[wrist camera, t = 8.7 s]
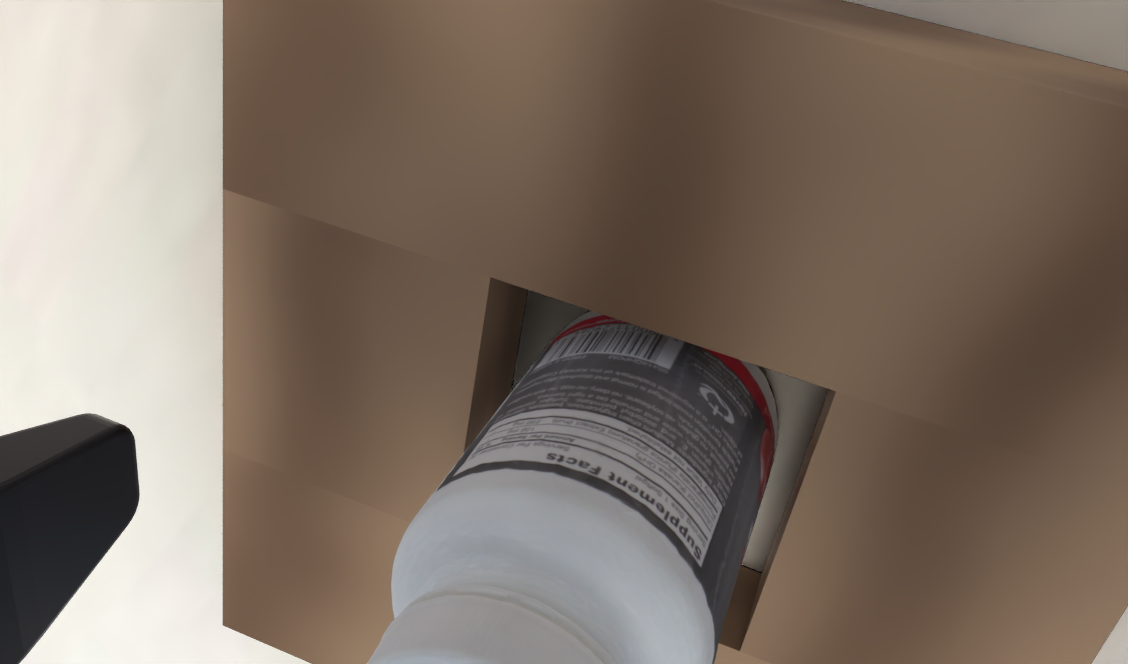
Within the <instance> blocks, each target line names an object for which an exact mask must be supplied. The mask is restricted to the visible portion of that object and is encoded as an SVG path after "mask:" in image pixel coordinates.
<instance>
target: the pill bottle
mask: <svg viewBox="0 0 1128 664" xmlns="http://www.w3.org/2000/svg"><path fill="white" fill-rule="evenodd" d="M777 439H778V419H777V411H776V405H775V401H774V397H773V394H772V392H771V389H770V387H769V384H768V381H767V380H766V378H765V376H764V374H763V373H762V372H761V370H760V369H759V367H758V366H757V365H754V364H751V363H748V362H745V361H742V360H739V359H736V358H733V357H730V356H727V355H724V354H721V353H718V352H715V351H712V350H709V349H706V348H703V347H700V346H697V345H694V344H691V343H688V342H685V341H682V340H679V339H676V338H673V337H670V336H667V335H664V334H661V333H658V332H655V331H652V330H649V329H645V328H642V327H639V326H636V325H633V324H630V323H627V322H624V321H621V320H618V319H615V318H612V317H609V316H606V315H603V314H600V313H597V312H594V311H589V312H587V313H585V314H583V315H581V316H580V317H578V318H577V319H575V320H574V321H572V322H571V323H569V324H568V325H567V326H565V327H564V328H563V329H562V330H561V331H560V332H559V333H558V334H557V335H556V336H555V337H554V338H553V339H552V341H551V342H550V343H549V344H548V345H547V346H546V347H545V349H544V350H543V351H542V353H541V354H540V355H539V357H538V358H537V359H536V361H535V362H534V363H533V365H532V366H531V367H530V369H529V370H528V371H527V373H526V374H525V375H524V376H523V378H522V379H521V380H520V382H519V383H518V384H517V385H516V387H515V388H514V389H513V391H512V392H511V393H510V394H509V396H508V397H507V398H506V399H505V401H504V402H503V403H502V404H501V406H500V407H499V408H498V410H497V411H496V413H495V414H494V415H493V417H492V418H491V419H490V421H489V422H488V423H487V425H486V426H485V427H484V428H483V430H482V431H481V432H480V433H479V435H478V436H477V437H476V439H475V440H474V441H473V442H472V443H471V445H470V446H469V447H468V448H467V449H466V451H465V452H464V453H463V455H462V456H461V457H460V459H459V460H458V462H457V463H456V464H455V465H454V467H453V468H452V469H451V471H450V472H449V473H448V475H447V476H446V477H445V479H444V480H443V481H442V482H441V484H440V485H439V486H438V487H437V489H436V490H435V491H434V493H433V494H432V495H431V496H430V498H429V499H428V500H427V502H426V503H425V504H424V505H423V507H422V508H421V509H420V511H419V512H418V513H417V515H416V516H415V517H414V519H413V520H412V522H411V523H410V525H409V526H408V528H407V529H406V531H405V533H404V535H403V537H402V540H401V542H400V544H399V547H398V549H397V552H396V555H395V559H394V563H393V570H392V580H391V592H392V607H393V613H394V618H395V619H394V620H393V621H392V622H391V623H390V625H389V626H388V628H387V630H386V631H385V633H384V634H383V636H382V638H381V641H380V643H379V645H378V647H377V648H376V650H375V651H374V653H373V655H372V656H371V658H370V659H369V661H368V662H367V664H714V662H715V658H716V653H717V648H718V643H719V639H720V636H721V632H722V628H723V624H724V621H725V617H726V614H727V610H728V607H729V604H730V600H731V597H732V593H733V590H734V587H735V583H736V580H737V576H738V573H739V570H740V566H741V564H742V561H743V558H744V555H745V552H746V549H747V545H748V542H749V539H750V536H751V532H752V529H753V526H754V523H755V520H756V517H757V513H758V510H759V507H760V504H761V501H762V498H763V495H764V491H765V488H766V485H767V482H768V478H769V474H770V471H771V467H772V464H773V461H774V456H775V451H776V446H777Z"/></svg>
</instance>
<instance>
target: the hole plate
mask: <svg viewBox="0 0 1128 664" xmlns="http://www.w3.org/2000/svg"><path fill="white" fill-rule="evenodd" d="M528 290H530V291H533V292H537V293H540V294H543V295H546V296H549V297H552V298H555V299H558V300H561V301H564V302H567V303H570V304H573V305H576V306H579V307H582V308H585V309H588V310H591V311H594V312H597V313H600V314H603V315H606V316H609V317H612V318H615V319H618V320H621V321H624V322H627V323H630V324H633V325H636V326H639V327H642V328H645V329H649V330H652V331H655V332H658V333H661V334H664V335H667V336H670V337H673V338H676V339H679V340H682V341H685V342H688V343H691V344H694V345H697V346H700V347H703V348H706V349H709V350H712V351H715V352H718V353H721V354H724V355H727V356H730V357H733V358H736V359H739V360H742V361H745V362H748V363H751V364H754V365H757V366H761V367H764V368H767V369H770V370H773V371H776V372H779V373H782V374H785V375H788V376H791V377H794V378H797V379H800V380H803V381H806V382H809V383H812V384H815V385H818V386H821V387H824V388H827V389H829V391H828V394H827V397H826V400H825V402H824V405H823V408H822V410H821V413H820V416H819V419H818V421H817V424H816V427H815V430H814V432H813V435H812V438H811V440H810V443H809V446H808V449H807V451H806V454H805V457H804V460H803V462H802V465H801V468H800V470H799V473H798V476H797V479H796V481H795V484H794V487H793V490H792V492H791V495H790V498H789V500H788V503H787V506H786V509H785V511H784V514H783V517H782V520H781V522H780V525H779V528H778V530H777V533H776V536H775V539H774V541H773V544H772V547H771V550H770V552H769V555H768V558H767V561H766V563H765V566H764V569H763V571H762V573H759V572H756V571H754V570H751V569H748V568H746V567H743V566H740V570H739V573H738V576H737V580H736V583H735V587H734V590H733V593H732V597H731V600H730V604H729V607H728V610H727V614H726V617H725V621H724V624H723V628H722V632H721V636H720V639H719V643H718V648H717V653H716V658H715V662H714V664H1091V663H1092V662H1093V660H1094V659H1095V657H1096V655H1097V654H1098V652H1099V651H1100V649H1101V647H1102V646H1103V644H1104V643H1105V641H1106V640H1107V638H1108V636H1109V635H1110V633H1111V632H1112V630H1113V628H1114V627H1115V625H1116V624H1117V622H1118V620H1119V619H1120V617H1121V616H1122V614H1123V613H1124V611H1125V609H1126V608H1127V606H1128V72H1126V71H1122V70H1118V69H1114V68H1110V67H1106V66H1102V65H1098V64H1094V63H1090V62H1086V61H1082V60H1078V59H1074V58H1070V57H1066V56H1062V55H1058V54H1054V53H1050V52H1046V51H1042V50H1038V49H1034V48H1030V47H1026V46H1022V45H1018V44H1014V43H1010V42H1006V41H1002V40H998V39H994V38H990V37H986V36H982V35H978V34H974V33H970V32H966V31H962V30H958V29H954V28H950V27H946V26H942V25H938V24H934V23H930V22H926V21H922V20H918V19H914V18H910V17H906V16H902V15H898V14H894V13H890V12H886V11H882V10H878V9H874V8H870V7H866V6H862V5H858V4H854V3H850V2H846V1H842V0H223V625H224V626H226V627H228V628H231V629H233V630H235V631H238V632H240V633H242V634H244V635H247V636H249V637H251V638H254V639H256V640H258V641H261V642H263V643H265V644H268V645H270V646H272V647H275V648H277V649H279V650H281V651H284V652H286V653H288V654H291V655H293V656H295V657H298V658H300V659H302V660H305V661H307V662H309V663H312V664H367V662H368V661H369V659H370V658H371V656H372V655H373V653H374V651H375V650H376V648H377V647H378V645H379V643H380V641H381V638H382V636H383V634H384V633H385V631H386V630H387V628H388V626H389V625H390V623H391V622H392V621H393V620H394V619H395V618H394V613H393V607H392V592H391V580H392V570H393V563H394V559H395V555H396V552H397V549H398V547H399V544H400V542H401V540H402V537H403V535H404V533H405V531H406V529H407V528H408V526H409V525H410V523H411V522H412V520H413V519H414V517H415V516H416V515H417V513H418V512H419V511H420V509H421V508H422V507H423V505H424V504H425V503H426V502H427V500H428V499H429V498H430V496H431V495H432V494H433V493H434V491H435V490H436V489H437V487H438V486H439V485H440V484H441V482H442V481H443V480H444V479H445V477H446V476H447V475H448V473H449V472H450V471H451V469H452V468H453V467H454V465H455V464H456V463H457V462H458V460H459V459H460V457H461V456H462V455H463V453H464V452H465V451H466V449H467V448H468V447H469V446H470V445H471V443H472V442H473V441H474V440H475V439H476V437H477V436H478V435H479V433H480V432H481V431H482V430H483V428H484V427H485V426H486V425H487V423H488V422H489V421H490V419H491V418H492V417H493V415H494V414H495V413H496V411H497V410H498V408H499V407H500V406H501V404H502V403H503V402H504V401H505V399H506V398H507V397H508V396H509V394H510V391H511V385H512V380H513V374H514V368H515V362H516V357H517V351H518V345H519V339H520V334H521V328H522V322H523V316H524V311H525V305H526V299H527V293H528Z"/></svg>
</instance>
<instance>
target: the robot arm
mask: <svg viewBox="0 0 1128 664" xmlns="http://www.w3.org/2000/svg"><path fill="white" fill-rule="evenodd" d="M138 502H139V482H138V470H137V459H136V447H135V439H134V436H133V434H132V432H131V431H130V429H129V428H127V427H126V426H125V425H122V424H120V423H117V422H115V421H112V420H109V419H107V418H104V417H102V416H99V415H97V414H90V413H87V414H81V415H76V416H73V417H69V418H65V419H62V420H58V421H54V422H51V423H47V424H43V425H39V426H36V427H32V428H28V429H25V430H21V431H17V432H14V433H10V434H6V435H3V436H0V664H19V663H20V662H21V661H22V660H23V659H24V658H25V656H26V655H27V654H28V653H29V652H30V650H31V649H32V648H33V647H34V645H35V644H36V643H37V642H38V641H39V639H40V638H41V637H42V636H43V634H44V633H45V632H46V631H47V629H48V628H49V627H50V625H51V624H52V623H53V622H54V620H55V619H56V618H57V616H58V615H59V614H60V612H61V611H62V610H63V609H64V607H65V606H66V605H67V603H68V602H69V601H70V599H71V598H72V597H73V596H74V594H75V593H76V592H77V590H78V589H79V588H80V587H81V585H82V584H83V583H84V581H85V580H86V579H87V577H88V576H89V575H90V574H91V572H92V571H93V570H94V568H95V567H96V566H97V564H98V563H99V562H100V561H101V559H102V558H103V557H104V555H105V554H106V553H107V552H108V550H109V549H110V548H111V546H112V545H113V544H114V542H115V541H116V540H117V539H118V537H119V536H120V535H121V533H122V532H123V531H124V529H125V528H126V527H127V526H128V524H129V523H130V521H131V520H132V518H133V516H134V514H135V512H136V509H137V506H138Z"/></svg>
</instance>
